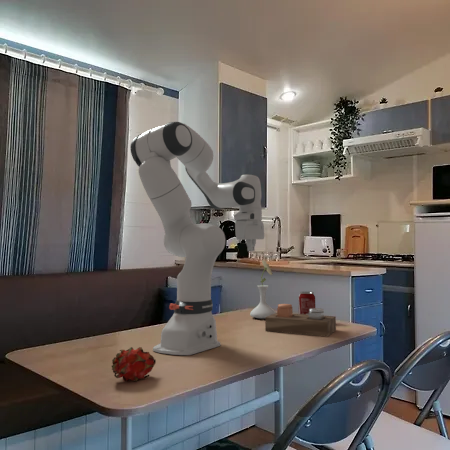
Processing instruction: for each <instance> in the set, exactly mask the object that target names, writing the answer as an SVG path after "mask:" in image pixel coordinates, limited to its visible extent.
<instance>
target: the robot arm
mask: <svg viewBox="0 0 450 450" xmlns="http://www.w3.org/2000/svg"><path fill="white" fill-rule="evenodd" d="M130 154H131V157H132V159H133V161H134V162H135V164H136V165H137V166H138V176H139V178H140V181H141V183H142V186H143V188H144V191H145V192H146V195H147V197H148V198H149V199H150V202H151V204H152V205H153V207H154V209H155V211H156V213H157V214H158V216H159V218H160V220H161V223H162V226H163V230H164V237H163V246H164V248H165V250H166V251H167V252H168V253H169V254H171V255H173V256H177V257H180V258H185V261H184V264H183V267H182V269H181V271H180V272H179V273H178V275H177V276H176V300H175V303H169V305H168V306H169V310H171V311H172V310H173V314H172V316H171V317H170V318H169V320H168V321H167V323H166V324H165V326H164V327H163V328H162V330H161V334H160V343H158V344H157V345H154V346H153V348H152V351H153V352H156V353H160V354H165V355H166V354H167V355H172V356H173V355H174V356H191V355H195V354H199V353H201V352H205V351H207V350H211V349H214V348H218V347H220V346H221V342H220V341H219V340H218V334H217V333H218V332H217V322H216V318H215V317H214V315H213V313H212V311H213V300H212V298H211V297H212V294H211V293H212V273H213V270H214V266H215V262H216V260H217V258H218V256H219V255H220V254H222V252H223V250H224V249H225V246H226V235H225V232H224V230H223V229H221V228H220V227H219V226H217V225H215V224H210V223H194V221H193V220H192V217H191V213H190V210H191V208H192V200H191V199H190V197H189V195H188V193H187V191H186V189H185V187H184V185H183V184H182V182H181V180H180V178H179V177H178V175H177V174H176V172H175V170H174V169H173V168H172V164H171V161H172V160H174V159H175V158H177V160H178V161H180V163H182V164H183V165H184V168H185V172H186V174H187V176H188V177H189V179H190V180H191V181H192V182H193V183H194V184H195V186H196V187H197V188H198V189H199V191H200V192H201V193H202V194H203V195H204V197H205V199H206V202H207V203H208V205H209V206H210V207H211V208H212V209H214V210H222V209H226V208H227V209H228V208H237V207H238V208H239V211H238V212H236V213H235V214H234V215H233V216H234V217H233V218H234V221H235V222H234V230H235V237H236V240H239V241H240V240H245V243H246V247H247V252H255V250H256V248H255V247H256V244H257V240H264V239H265V226H264V222H263V215H262V213H263V212H262V210H263V209H262V208H263V207H262V203H261V201H262V185H261V180H260V178H259V177H258V176H257V175H255V174H251V173H249V174H248V173H246V174H242V175H240V177H239V179H236V180H234V181H230V182H224V183H223V182H221V183H220V182H216V181H214V180H213V179H212V178H211V177H210V175H209V174H208V173H207V171H208V170H209V169H210V167H211V166H212V164H213V161H214V150H213V149H212V147H211V146H210V144H209V143H208V142H207V141H206V140H205V139H204V138H203V137H202V136H201V135H200V134H199V133H198V132H196V130H194V129H193V128H191V127H190V126H189V125H187V124H186V123H183V122H180V121H170V122H167V123H165V124H163V125H160V126H155V127H153V128H151V129H148V130H147V131H145V132H143V133H141V134H138V135H137V136H135V138H133V140H132V141H131V143H130Z"/></svg>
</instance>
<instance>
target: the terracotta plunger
mask: <svg viewBox="0 0 450 450" xmlns="http://www.w3.org/2000/svg"><path fill="white" fill-rule="evenodd" d="M276 311H277V312H276V313H277V317H288V318H290V317H292V316H293V314H294V313H293V304H290V303H279V304H277V309H276Z"/></svg>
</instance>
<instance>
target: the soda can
mask: <svg viewBox="0 0 450 450" xmlns="http://www.w3.org/2000/svg"><path fill="white" fill-rule="evenodd" d="M297 300H298V314H306V315H309V309H310V308H316V296H315V294H314V291H307V290H306V291H305V290H304V291H299V295H298V299H297Z"/></svg>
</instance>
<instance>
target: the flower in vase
mask: <svg viewBox="0 0 450 450" xmlns="http://www.w3.org/2000/svg"><path fill="white" fill-rule="evenodd" d="M261 260H262V261H261V263H262V265H263V267H264V269H263V271H262V274H261V276H260V278H261V280H260V283H261V284H260V285H258V284H257V285H256V286H257V288H258V291H259V297H260V298H259V300H260V301H259V303H258V305H256V307H254V308H253V309H252V310H251V311H250V312H249V313H250V314H249V315H250V317H252V318H256V319H261V320H263V319H264V320H265V317H267V316H270V315H272V314H275V313H277V312H276V311H275V310H274V309H273V308H272V307H271V306H270V305H269V304H268V303H267V301H266V298H267V297H266V295H267V291H268V288H269V285H267V284H266V285H265V284H263V283H265V282H266V281H267V279H266V278H265V277H263V275H264V272H265V271H266V272H267V273H268V274H269V275H270V276H273V275H274V274H273V270H272V269H271V267H270V264H268V263H267V261H266V260H265V259H261Z"/></svg>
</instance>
